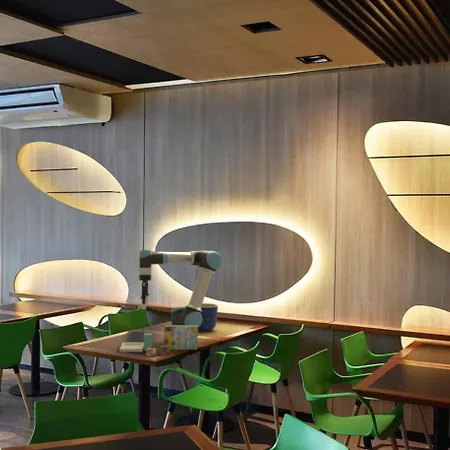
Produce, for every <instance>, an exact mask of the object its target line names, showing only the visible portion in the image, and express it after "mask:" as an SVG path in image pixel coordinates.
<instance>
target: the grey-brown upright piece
mask: <svg viewBox="0 0 450 450" xmlns="http://www.w3.org/2000/svg"><path fill="white" fill-rule="evenodd" d="M164 338H165V332H163V333H161V338H160V339H161V343H160V344H161V345H164Z"/></svg>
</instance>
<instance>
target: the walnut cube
mask: <svg viewBox="0 0 450 450" xmlns="http://www.w3.org/2000/svg"><path fill="white" fill-rule="evenodd" d="M170 351H171V350H170V347H169V346H168V345H159V354H160V355H161V356H170V355H171V354H170Z"/></svg>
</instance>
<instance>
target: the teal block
mask: <svg viewBox="0 0 450 450" xmlns="http://www.w3.org/2000/svg"><path fill="white" fill-rule="evenodd" d="M143 342H144V348H143V352H144V351H145V352H147V349H148V348H153V333H150V332H149V333H147V332H146V333H143Z"/></svg>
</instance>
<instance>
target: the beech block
mask: <svg viewBox="0 0 450 450" xmlns="http://www.w3.org/2000/svg"><path fill="white" fill-rule="evenodd" d="M156 355H157V348H155V347H152V348H148V349H147V351H146V356H147V357H155V356H156Z"/></svg>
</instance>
